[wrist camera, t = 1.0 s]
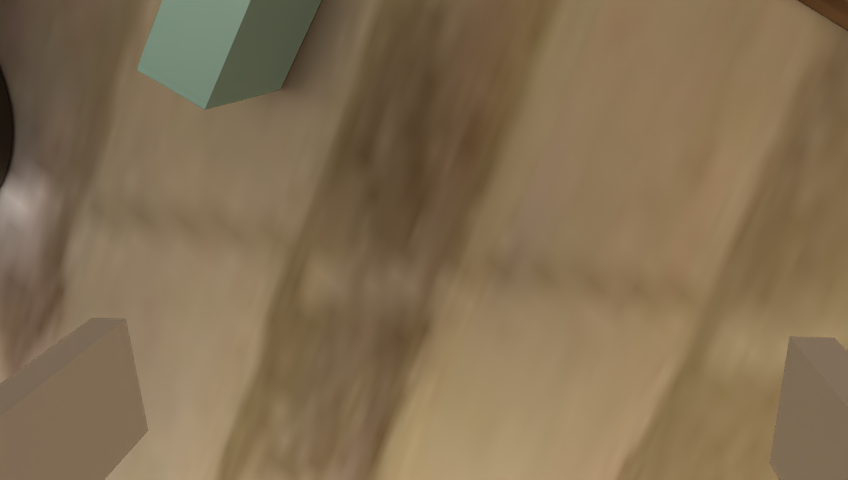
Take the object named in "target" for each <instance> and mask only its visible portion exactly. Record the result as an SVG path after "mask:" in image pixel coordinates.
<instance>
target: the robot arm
mask: <svg viewBox="0 0 848 480" xmlns="http://www.w3.org/2000/svg"><path fill="white" fill-rule="evenodd" d="M11 144H12V121H11V111H10V106H9V100H8V96H7V92H6V88H5V85H4V81H3V78H2V76H1V73H0V185H1V183H2V181H3V178H4V176H5V173H6V170H7V167H8V163H9V158H10V153H11ZM147 431H148V427H147V422H146V417H145V412H144V407H143V402H142V397H141V392H140V387H139V382H138V377H137V372H136V367H135V362H134V357H133V352H132V347H131V342H130V338H129V333H128V328H127V323H126V319H114V318H92V319H90V320H89V321H87V322H86V323H85V324H83V325H82V326H80V327H79V328H78V329H76V330H75V331H73V332H72V333H71V334H69V335H68V336H66V337H65V338H64V339H62V340H61V341H59V342H58V343H57V344H55V345H54V346H52V347H51V348H50V349H48V350H47V351H46V352H44V353H43V354H41V355H40V356H39V357H37V358H36V359H34V360H33V361H32V362H30V363H29V364H27V365H26V366H25V367H23V368H22V369H20V370H19V371H18V372H16V373H15V374H13V375H12V376H11V377H9V378H8V379H6V380H5V381H4V382H2V383H1V384H0V480H105V478H106V477H107V476H108V475H109V474H110V473H111V472H112V471H113V469H114V468H115V467H116V466H117V465H118V464H119V463H120V462H121V460H122V459H123V458H124V457H125V456H126V455H127V454H128V452H129V451H130V450H131V449H132V448H133V447H134V446H135V445H136V443H137V442H138V441H139V440H140V439H141V438H142V437H143V436H144V434H145V433H146V432H147ZM770 464H771V466H772V467H773V469H774V471H775V473H776V475H777V476H778V478H779V480H848V351H847V350H846V349H845V348H844V347H843V346H842V345H841V344H840V343H839V342H838V341H837V340H836V339H835V338H823V337H789V343H788V350H787V356H786V362H785V369H784V375H783V381H782V388H781V394H780V401H779V407H778V413H777V420H776V426H775V433H774V439H773V445H772V452H771V458H770Z"/></svg>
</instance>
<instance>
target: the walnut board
mask: <svg viewBox="0 0 848 480" xmlns="http://www.w3.org/2000/svg"><path fill="white" fill-rule="evenodd" d="M799 1H801V2H802V3H804V4H806V5H807V6H809V7H811V8H812V9H814V10H815V11H817V12H819V13H820V14H822V15H824V16H825V17H827V18H829V19H830V20H832V21H834V22H835V23H837V24H838V25H840V26H842V27H843V28H845V29H847V30H848V0H799Z"/></svg>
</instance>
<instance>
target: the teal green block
mask: <svg viewBox="0 0 848 480" xmlns="http://www.w3.org/2000/svg"><path fill="white" fill-rule="evenodd" d="M321 1H322V0H162V3H161V5H160V8H159V11H158V13H157V16H156V19H155V21H154V24H153V27H152V29H151V32H150V35H149V38H148V40H147V43H146V46H145V48H144V51H143V54H142V56H141V59H140V62H139V64H138V67H137V70H138V71H140V72H141V73H143V74H145V75H146V76H148V77H150V78H152V79H153V80H155V81H157V82H158V83H160V84H162V85H163V86H165V87H167V88H168V89H170V90H172V91H174V92H175V93H177V94H179V95H180V96H182V97H184V98H185V99H187V100H189V101H190V102H192V103H194V104H196V105H197V106H199V107H201V108H202V109H204V110H206V109H210V108H213V107H217V106H221V105H225V104H228V103H232V102H236V101H240V100H243V99H247V98H251V97H255V96H259V95H262V94H266V93H270V92H274V91H277V90H280V89H281V87H282V85H283V83H284V81H285V78H286V76H287V74H288V72H289V70H290V68H291V65H292V63H293V61H294V59H295V57H296V55H297V52H298V50H299V48H300V46H301V44H302V42H303V39H304V37H305V35H306V33H307V31H308V29H309V26H310V24H311V22H312V20H313V18H314V16H315V14H316V11H317V9H318V7H319V5H320V3H321Z"/></svg>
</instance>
